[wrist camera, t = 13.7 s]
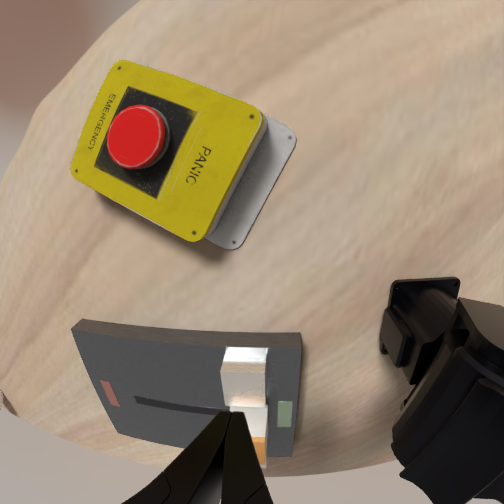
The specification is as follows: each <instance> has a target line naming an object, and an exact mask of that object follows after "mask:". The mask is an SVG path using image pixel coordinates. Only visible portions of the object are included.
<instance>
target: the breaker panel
mask: <svg viewBox="0 0 504 504" xmlns="http://www.w3.org/2000/svg"><path fill="white" fill-rule="evenodd" d="M71 331H72V334H73V337H74V339H75V342H76V345H77V347H78V350H79V353H80V355H81V358H82V360H83V363H84V365H85V367H86V370H87V372H88V374H89V377H90V379H91V381H92V383H93V386H94V388H95V390H96V392H97V394H98V396H99V398H100V400H101V402H102V404H103V406H104V408H105V410H106V412H107V414H108V416H109V418H110V420H111V421H112V423H113V425H114V427H115V429H116V430H117V432H118V433H120V434H123V435H127V436H130V437H134V438H138V439H142V440H146V441H150V442H155V443H159V444H164V445H169V446H174V447H180V448H186V447H187V446H188V445H189V444H190V443H191V442H192V441H193V440H194V439H195V438H196V437H197V436H198V435H199V433H200V432H201V431H202V430H203V429H204V428H205V427H206V426H207V425H208V424H209V422H210V421H211V420H212V419H213V418H214V417H215V416H216V415H217V414H218V412H219V411H221V410H226V411H230V406H237V407H259V408H265V407H266V405H268V437H267V449H266V461H265V465H260V466H261V468H266V467H267V456H276V457H288V456H292V450H293V442H294V433H295V423H296V413H297V402H298V391H299V378H300V365H301V349H302V347H301V336H300V333H248V332H216V331H196V330H180V329H167V328H155V327H144V326H134V325H125V324H116V323H108V322H101V321H93V320H86V319H81V320H80V321H79V322H78V323H77V324H76V325H75V326H74V327H72V328H71Z"/></svg>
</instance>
